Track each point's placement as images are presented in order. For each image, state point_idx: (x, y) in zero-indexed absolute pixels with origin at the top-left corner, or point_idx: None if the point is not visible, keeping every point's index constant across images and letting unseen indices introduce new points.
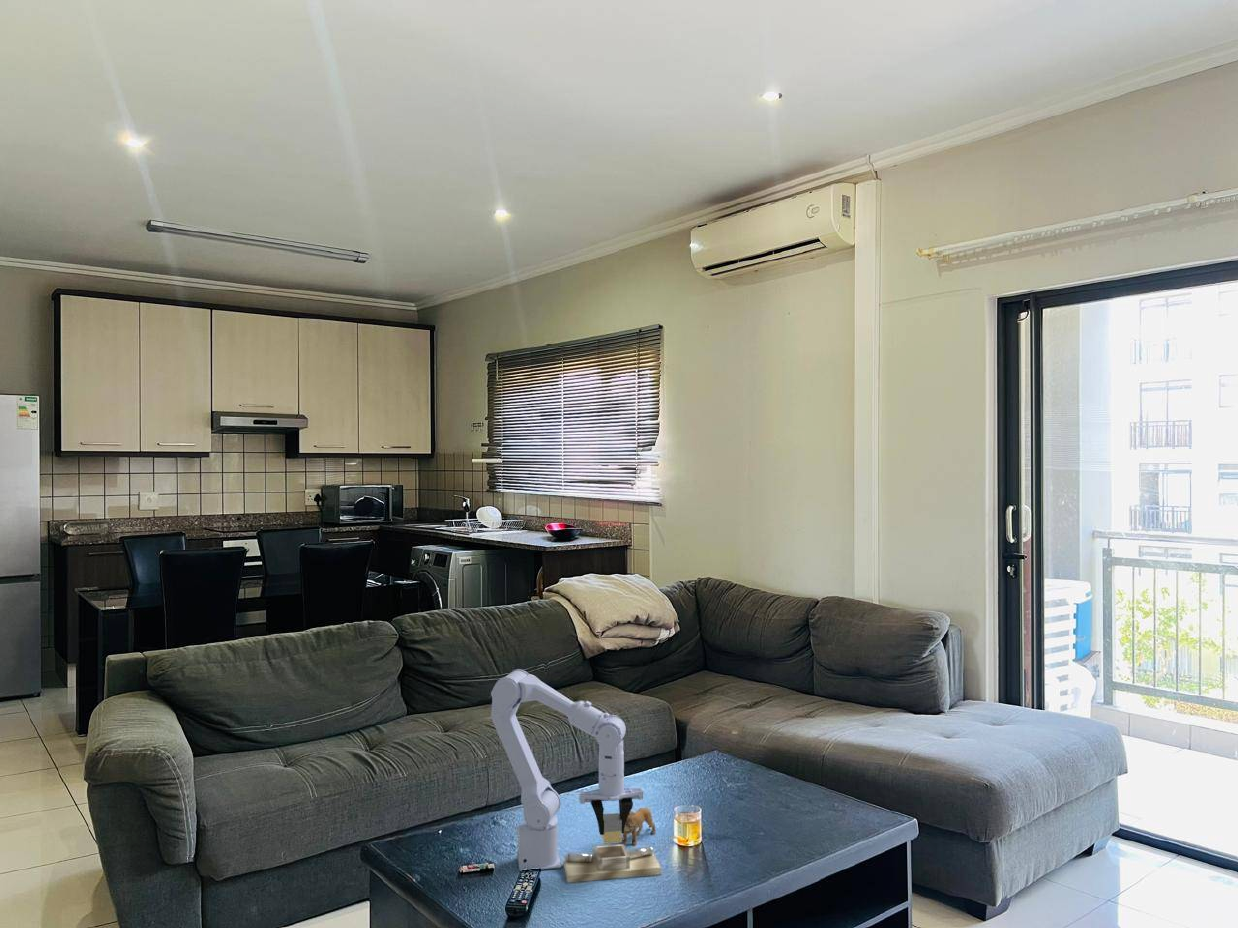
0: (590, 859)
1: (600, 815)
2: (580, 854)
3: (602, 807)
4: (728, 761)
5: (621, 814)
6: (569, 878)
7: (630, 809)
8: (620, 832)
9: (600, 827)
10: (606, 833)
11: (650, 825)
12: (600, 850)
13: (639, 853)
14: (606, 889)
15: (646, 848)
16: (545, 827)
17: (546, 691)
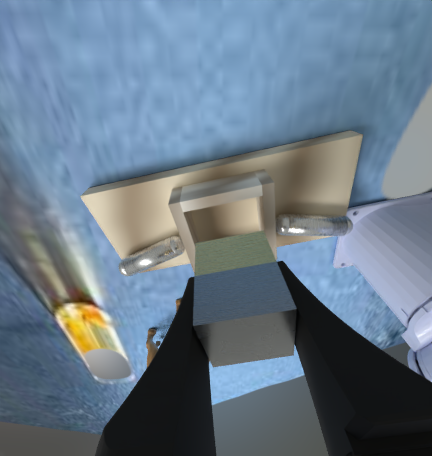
0: (284, 215)
1: (335, 340)
2: (314, 228)
3: (375, 421)
4: (99, 432)
5: (195, 359)
6: (352, 133)
7: (124, 405)
8: (199, 270)
9: (297, 282)
10: (263, 258)
11: (151, 342)
12: None
13: (151, 248)
14: (240, 79)
15: (134, 266)
16: None
17: None
